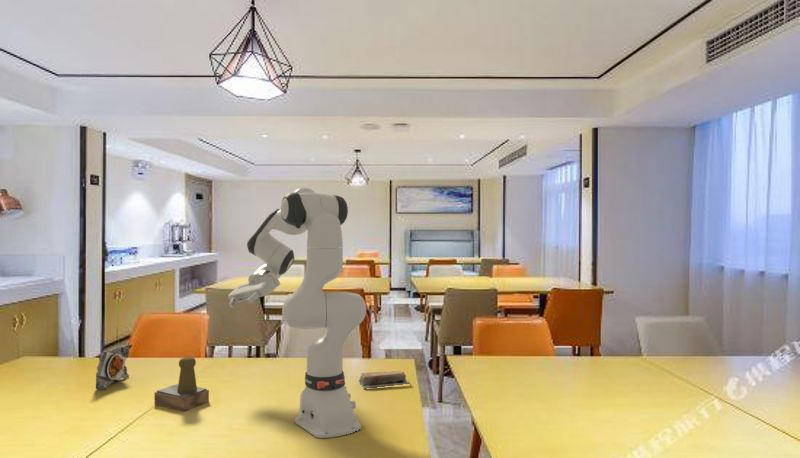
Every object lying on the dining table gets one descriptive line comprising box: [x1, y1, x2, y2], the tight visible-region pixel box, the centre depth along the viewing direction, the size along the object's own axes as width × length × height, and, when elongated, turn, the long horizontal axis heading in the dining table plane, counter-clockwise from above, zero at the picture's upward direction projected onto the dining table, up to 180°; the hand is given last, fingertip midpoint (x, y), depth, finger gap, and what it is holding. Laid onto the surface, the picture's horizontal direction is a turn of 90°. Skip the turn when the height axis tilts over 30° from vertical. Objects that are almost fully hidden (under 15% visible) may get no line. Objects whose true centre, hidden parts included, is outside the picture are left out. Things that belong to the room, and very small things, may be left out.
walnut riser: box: [154, 383, 210, 412], centre depth 168 cm, size 10×14×4 cm
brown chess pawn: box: [177, 356, 198, 394], centre depth 167 cm, size 6×6×11 cm
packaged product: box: [358, 370, 411, 389], centre depth 189 cm, size 18×5×10 cm
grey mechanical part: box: [95, 344, 133, 391], centre depth 188 cm, size 15×4×13 cm, turn 175°
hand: (239, 303), depth 181 cm, fingers open, 8 cm apart
